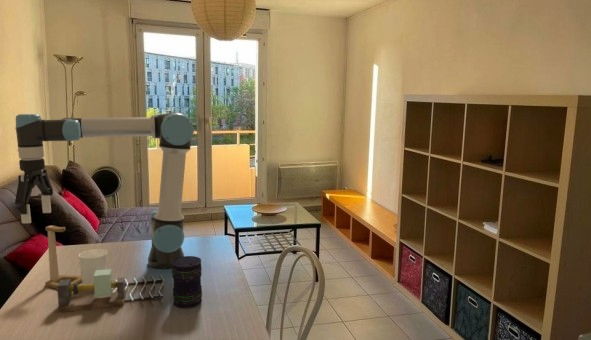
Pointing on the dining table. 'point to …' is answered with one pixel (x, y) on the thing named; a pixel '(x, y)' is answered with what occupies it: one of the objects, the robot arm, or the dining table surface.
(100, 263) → the candle holder
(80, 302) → the rail
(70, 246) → the dining table surface
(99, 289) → the sleeve
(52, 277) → the headphone stand
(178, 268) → the storage jar
